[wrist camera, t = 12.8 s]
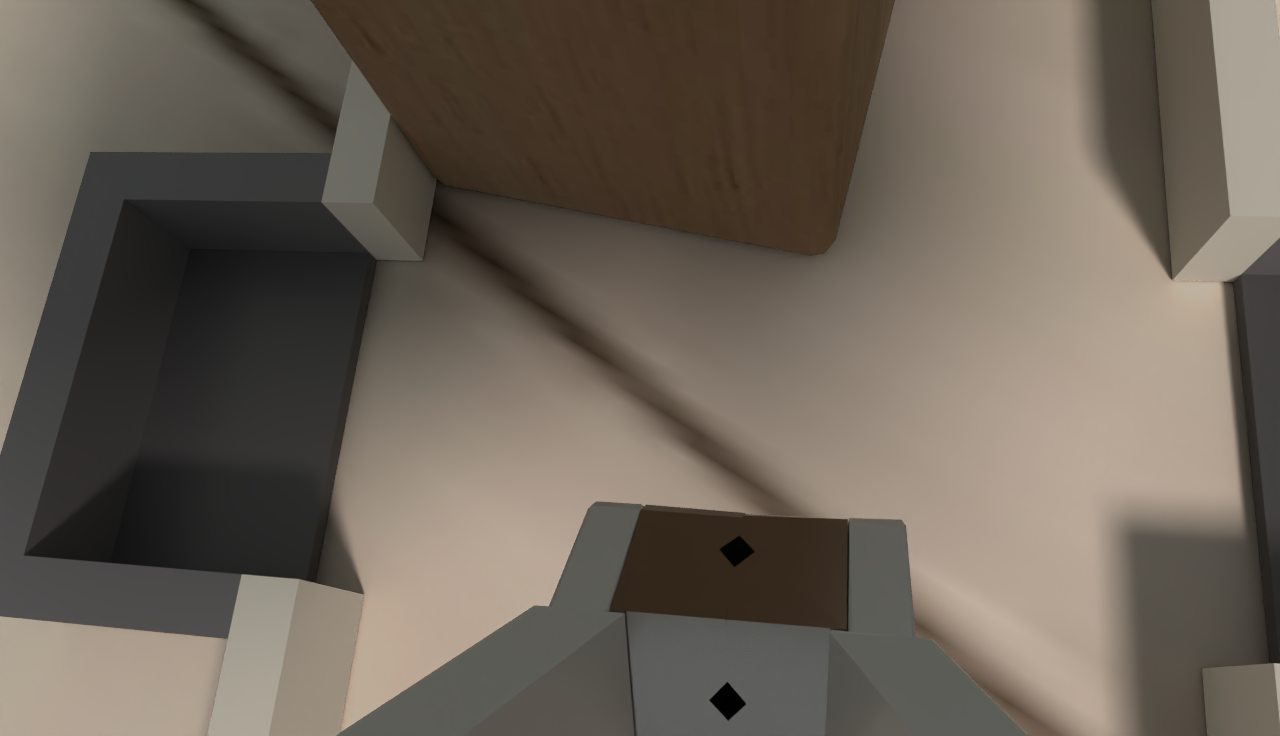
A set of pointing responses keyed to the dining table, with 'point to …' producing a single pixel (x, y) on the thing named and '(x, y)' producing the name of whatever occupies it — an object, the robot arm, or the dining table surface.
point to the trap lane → (1200, 251)
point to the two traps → (264, 394)
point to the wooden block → (634, 104)
